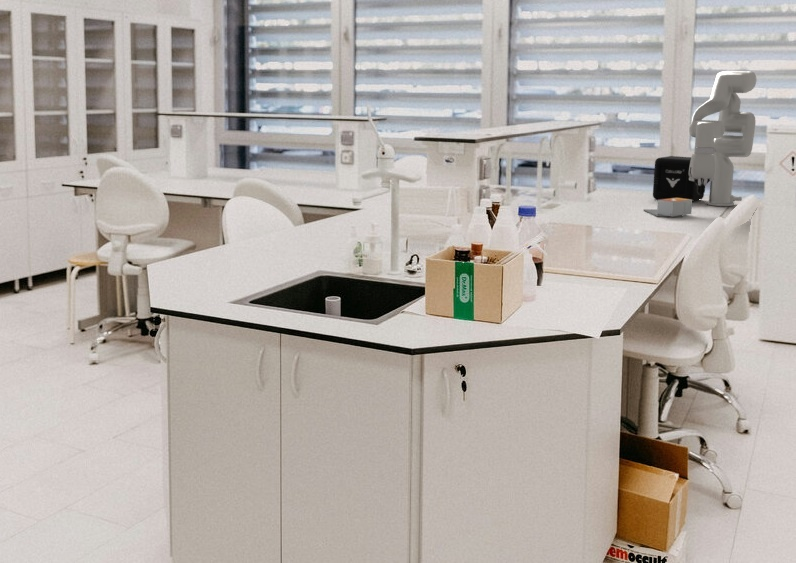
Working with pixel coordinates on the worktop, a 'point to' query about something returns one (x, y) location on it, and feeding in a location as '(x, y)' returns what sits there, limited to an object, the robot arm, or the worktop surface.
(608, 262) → the worktop surface
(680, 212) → the small box
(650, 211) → the rubber mat
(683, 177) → the air purifier
